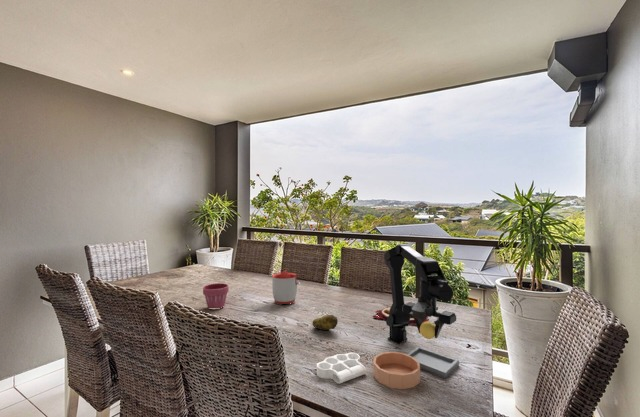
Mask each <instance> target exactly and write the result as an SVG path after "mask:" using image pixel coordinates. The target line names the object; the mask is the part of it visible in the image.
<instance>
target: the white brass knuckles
mask: <svg viewBox="0 0 640 417" xmlns="http://www.w3.org/2000/svg"><path fill="white" fill-rule="evenodd" d="M367 374H368V370H367V367H365V365H363V363H361V356H360V355H359V354H358V353H357V352H348V353H347V352H346V353H337V354H335V355H332V356H327V357H326V358H324V360H323V361H319V362H317V363H316V376H317V377H319V378H321V379H331V380H333V381H334V382H335V383H336V384H343V383H345V382H348V381H349V380H354V379H355V378H359V377H361V376H363V375H367Z"/></svg>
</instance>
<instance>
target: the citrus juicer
mask: <svg viewBox="0 0 640 417" xmlns="http://www.w3.org/2000/svg"><path fill="white" fill-rule="evenodd" d="M271 277H272V284H271V285H272V287H271V288H272V290H271V291H272V295H273V300H274V302H276V303H278V304H290V303H292V304H294V303H295V300H296V298H297V294H298V285H301V282H300V280H299V279H298V274H297V273H295V272H294V273H293V272H288V271H287V270H286V269H285V270H283V271H282V272H278V273H274V274H272V275H271ZM293 302H294V303H293ZM276 303H275V304H276ZM278 304H277V305H278ZM290 305H291V304H290Z"/></svg>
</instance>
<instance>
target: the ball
mask: <svg viewBox="0 0 640 417" xmlns="http://www.w3.org/2000/svg"><path fill="white" fill-rule="evenodd" d="M419 334H421V336H422V337H423V338H424V339H427V340H430V339H434V338H435V323H434V322H431V321H427V322H423V323H422V324H421V326H420V333H419Z"/></svg>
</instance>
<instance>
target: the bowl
mask: <svg viewBox="0 0 640 417" xmlns="http://www.w3.org/2000/svg"><path fill="white" fill-rule="evenodd" d="M372 363H373V364H372V365H373V366H372V369H373V370H372V371H373V372H372V373H373V377H374V378H375V380H376V381H377V382H378V383H379V384H382V385H384V386H386V387H387V388H391V389H398V390H399V389H400V390H405V389H411V388H415V387H417V385H418V384H420V383H421V369H420V363H419V362H418V361H417V360H416V359H415V358H414V357H412V356H409V355H407V353H403V352H396V351H386V352H381V353H379V354H376V355H375V356H374V357H373V362H372Z"/></svg>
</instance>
